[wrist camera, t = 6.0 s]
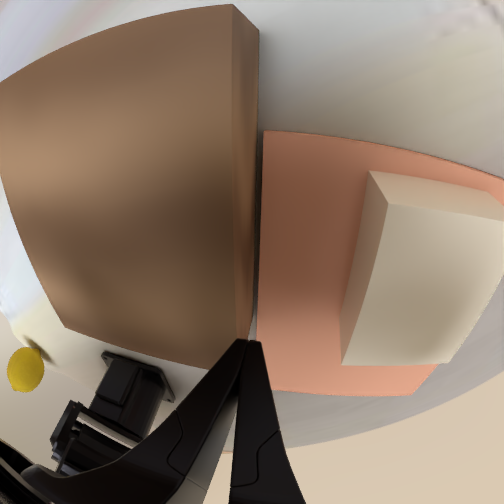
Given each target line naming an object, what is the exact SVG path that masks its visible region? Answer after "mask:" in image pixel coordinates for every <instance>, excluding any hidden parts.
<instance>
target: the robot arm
mask: <svg viewBox="0 0 504 504" xmlns="http://www.w3.org/2000/svg"><path fill="white" fill-rule="evenodd" d="M101 357H102V359H103V360H104V362H105V363H106V365H107V366H108V369H107V371H106V373H105V375H104V377H103V379H102V381H101V382H100V384H99V386H98V388H97V390H96V392H95V393H96V395H95V397H94V399H93V400H92V402H91V404H90V406H89V409H87V408H86V407H85V406H83V404H81V403H80V402H78V403H76V402H74V401H72V400H70V401H69V404H68V405H67V407H66V409H65V411H64V413H63V415H62V417H61V419H60V420H59V423H58V424H57V426H56V428H55V430H54V432H53V434H52V436H51V438H50V442H51V445H52V447H53V449H52V451H53V452H54V453H53V455H52V457H51V458H52V459H53V460H55V461H56V462H58V465H57V467H56V470H55V472H54V471H52V470H50V469H48V468H46V467H44V466H42V465H39V464H34V463H33V462H32V461H30V460H29V459H28V458H27V457H26V456H24V455H23V454H22V453H20V452H19V451H18V450H16V449H15V448H14V447H12V446H11V445H10V444H8V443H6V442H5V441H3V440H2V439H0V504H203V501H204V498H205V496H206V493H207V490H208V488H209V485H210V482H211V480H212V477H213V475H214V472H215V469H216V467H217V464H218V461H219V458H220V456H221V453H222V450H223V447H224V445H225V442H226V439H227V436H228V433H229V430H230V428H231V425H232V422H233V419H234V416H235V413H236V410H237V415H236V426H235V438H234V449H233V460H232V472H231V484H230V487H231V488H230V494H229V503H228V504H306V502H305V500H304V498H303V495H302V493H301V491H300V488H299V486H298V483H297V481H296V479H295V476H294V474H293V471H292V469H291V466H290V463H289V460H288V457H287V455H286V451H285V447H284V444H283V440H282V435H281V431H280V426H279V422H278V417H277V413H276V408H275V403H274V399H273V394H272V390H271V385H270V380H269V376H268V371H267V366H266V362H265V357H264V352H263V347H262V343H261V342H260V341H256V340H250V341H249V340H248V339H242V338H237V339H236V340H235V341H234V342H233V343H232V344H231V345H230V347H229V348H228V349H227V350H226V351H225V353H224V354H223V355H222V356H221V357H220V358H219V360H218V361H217V362H216V363H215V364H214V366H213V367H212V368H211V369H210V370H209V371H208V373H207V374H206V375H205V376H204V377H203V378H202V379H201V381H200V382H199V383H198V384H197V385H196V386H195V387H194V389H193V390H192V391H191V392H190V393H189V394H188V395H187V397H186V398H185V399H184V400H183V401H182V402H181V403H180V404H179V406H178V407H177V408H176V410H174V411H173V412H172V413H171V414H170V415H169V416H168V418H167V419H166V420H165V421H164V422H163V423H162V424H161V425H160V426H159V427H158V428H156V429H155V430H154V431H153V432H152V433H151V434H150V435H148V434H149V431H150V429H151V426H152V424H153V421H154V419H155V416H156V413H157V411H158V408H159V406H160V403H161V401H162V400H164V401H167V402H171V403H174V401H175V398H174V396H173V394H172V392H171V390H170V388H169V385H168V383H167V381H166V379H165V377H164V375H163V373H162V371H161V370H159V369H157V368H154V367H151V366H147V365H144V364H140V363H137V362H134V361H131V360H127V359H124V358H121V357H118V356H115V355H112V354H109V353H107V352H103V353H102V355H101ZM77 417H80V418H81V419H83V420H84V421H86V422H88V423H90V424H91V425H93V426H94V427H96V428H98V429H100V430H101V431H103V432H105V433H107V434H109V435H111V436H112V437H114V438H116V439H118V440H120V441H122V442H124V443H126V444H128V445H130V446H132V447H134V448H133V449H130V448H128V447H126V446H124V445H122V444H120V443H118V442H116V441H114V440H112V439H111V438H108V437H107V436H105V435H103V434H101V433H100V432H98V431H96V430H94V429H93V428H91V427H89V426H87V425H86V424H82V423H81V422H79V421H77V420H76V419H77ZM72 429H73V430H72Z"/></svg>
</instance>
